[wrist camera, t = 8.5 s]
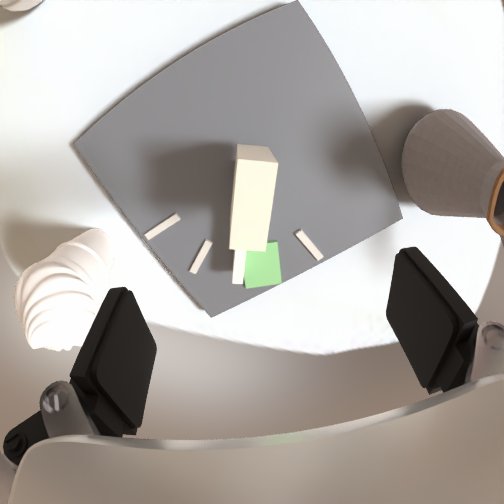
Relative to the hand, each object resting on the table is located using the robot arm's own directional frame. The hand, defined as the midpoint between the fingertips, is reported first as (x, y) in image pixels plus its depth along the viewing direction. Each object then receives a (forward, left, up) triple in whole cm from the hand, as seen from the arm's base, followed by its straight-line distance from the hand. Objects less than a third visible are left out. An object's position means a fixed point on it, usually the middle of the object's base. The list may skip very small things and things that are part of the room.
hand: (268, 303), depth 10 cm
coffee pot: (-19, +13, -20) cm, 30 cm away
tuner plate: (0, 0, -20) cm, 20 cm away
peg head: (+2, +3, -18) cm, 18 cm away
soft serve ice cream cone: (+18, -2, -20) cm, 27 cm away
